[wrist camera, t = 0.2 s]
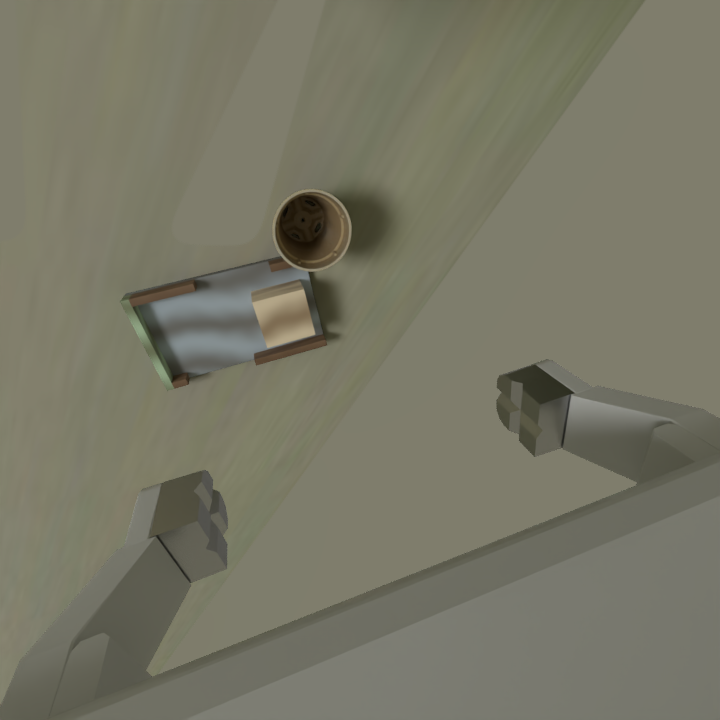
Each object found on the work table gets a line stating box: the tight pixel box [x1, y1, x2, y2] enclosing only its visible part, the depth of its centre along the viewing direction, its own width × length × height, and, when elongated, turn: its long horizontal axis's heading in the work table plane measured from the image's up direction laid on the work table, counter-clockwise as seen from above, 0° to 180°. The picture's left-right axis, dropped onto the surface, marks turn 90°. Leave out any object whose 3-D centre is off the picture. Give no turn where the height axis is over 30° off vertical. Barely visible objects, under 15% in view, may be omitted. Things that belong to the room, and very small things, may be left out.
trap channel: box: [120, 256, 327, 391], centre depth 55 cm, size 14×24×3 cm, turn 100°
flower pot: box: [272, 189, 352, 272], centre depth 49 cm, size 9×9×9 cm
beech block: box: [251, 279, 315, 348], centre depth 55 cm, size 7×7×4 cm
